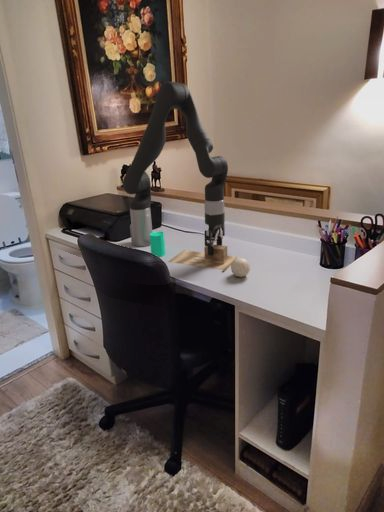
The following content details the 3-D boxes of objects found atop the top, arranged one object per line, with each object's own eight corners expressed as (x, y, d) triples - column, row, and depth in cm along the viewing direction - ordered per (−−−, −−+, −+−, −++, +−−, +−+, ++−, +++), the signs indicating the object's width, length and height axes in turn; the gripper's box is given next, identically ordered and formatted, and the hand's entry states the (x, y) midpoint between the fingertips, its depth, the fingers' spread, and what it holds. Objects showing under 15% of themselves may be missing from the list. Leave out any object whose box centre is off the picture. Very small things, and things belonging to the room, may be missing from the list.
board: (168, 264, 153) (167, 261, 153) (184, 252, 165) (183, 250, 165) (223, 272, 143) (223, 269, 143) (236, 259, 155) (236, 256, 154)
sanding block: (204, 261, 151) (204, 247, 149) (208, 258, 155) (208, 244, 152) (223, 264, 148) (223, 249, 146) (227, 260, 151) (227, 246, 149)
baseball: (234, 281, 135) (234, 263, 133) (228, 273, 142) (228, 256, 140) (253, 278, 137) (253, 261, 134) (246, 271, 143) (246, 254, 141)
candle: (168, 255, 163) (166, 228, 159) (161, 260, 158) (159, 232, 154) (156, 253, 166) (153, 227, 161) (148, 258, 161) (146, 231, 156)
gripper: (212, 206, 151) (213, 244, 157) (197, 215, 140) (198, 256, 146) (230, 207, 148) (230, 246, 154) (216, 216, 136) (217, 259, 142)
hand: (215, 251), depth 150 cm, fingers open, 8 cm apart
